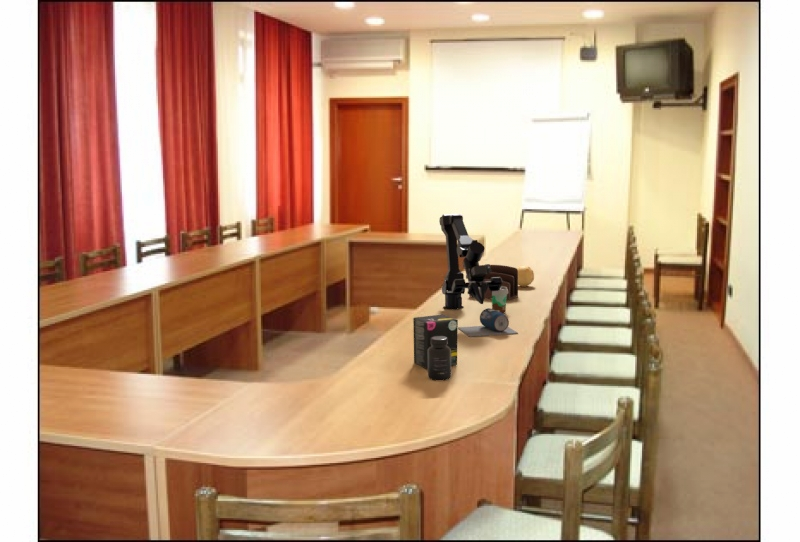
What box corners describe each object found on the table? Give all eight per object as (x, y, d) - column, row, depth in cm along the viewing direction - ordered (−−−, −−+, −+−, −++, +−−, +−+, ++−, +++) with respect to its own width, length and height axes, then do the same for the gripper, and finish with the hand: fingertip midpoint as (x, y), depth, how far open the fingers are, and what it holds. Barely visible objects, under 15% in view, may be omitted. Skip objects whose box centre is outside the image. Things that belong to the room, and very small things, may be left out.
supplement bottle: (426, 374, 226) (426, 335, 224) (449, 373, 227) (449, 334, 225) (429, 381, 219) (428, 340, 218) (452, 380, 220) (452, 340, 218)
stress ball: (511, 288, 370) (516, 277, 361) (511, 271, 375) (516, 260, 367) (531, 291, 370) (536, 281, 362) (531, 274, 376) (536, 263, 367)
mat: (458, 328, 284) (458, 327, 284) (504, 325, 288) (504, 324, 288) (469, 337, 271) (469, 336, 271) (517, 333, 275) (517, 332, 275)
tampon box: (427, 370, 230) (427, 323, 228) (412, 363, 239) (412, 317, 236) (458, 365, 235) (458, 318, 233) (443, 358, 244) (442, 313, 241)
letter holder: (478, 293, 354) (478, 263, 352) (518, 297, 344) (518, 266, 342) (468, 297, 346) (468, 266, 344) (509, 300, 336) (510, 269, 334)
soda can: (495, 324, 287) (510, 331, 276) (478, 327, 285) (493, 334, 274) (494, 306, 286) (510, 312, 275) (477, 308, 284) (492, 315, 273)
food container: (507, 315, 305) (507, 290, 304) (491, 315, 307) (491, 290, 305) (509, 309, 317) (509, 285, 316) (494, 308, 319) (494, 285, 317)
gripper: (453, 258, 284) (462, 292, 276) (501, 255, 289) (511, 289, 280) (447, 275, 293) (456, 309, 284) (493, 273, 297) (503, 306, 288)
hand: (482, 303), depth 284 cm, fingers closed
